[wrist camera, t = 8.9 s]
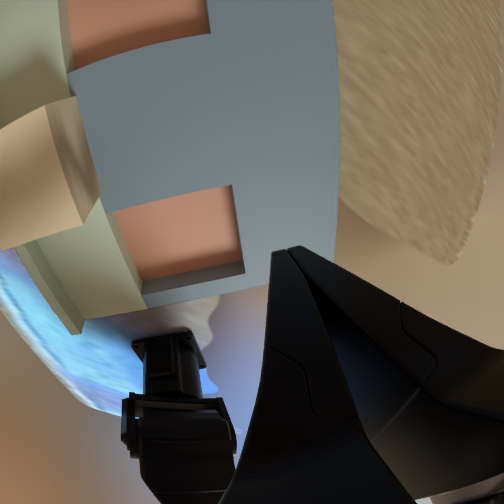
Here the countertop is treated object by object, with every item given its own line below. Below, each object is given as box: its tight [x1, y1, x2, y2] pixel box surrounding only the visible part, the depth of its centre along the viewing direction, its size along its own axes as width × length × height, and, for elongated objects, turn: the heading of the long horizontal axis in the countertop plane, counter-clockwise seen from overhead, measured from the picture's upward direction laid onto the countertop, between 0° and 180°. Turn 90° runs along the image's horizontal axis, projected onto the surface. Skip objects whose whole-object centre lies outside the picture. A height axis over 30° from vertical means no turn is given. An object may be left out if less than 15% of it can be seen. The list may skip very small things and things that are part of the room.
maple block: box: [0, 96, 102, 251], centre depth 11 cm, size 6×6×4 cm
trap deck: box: [0, 0, 340, 335], centre depth 14 cm, size 26×22×4 cm
